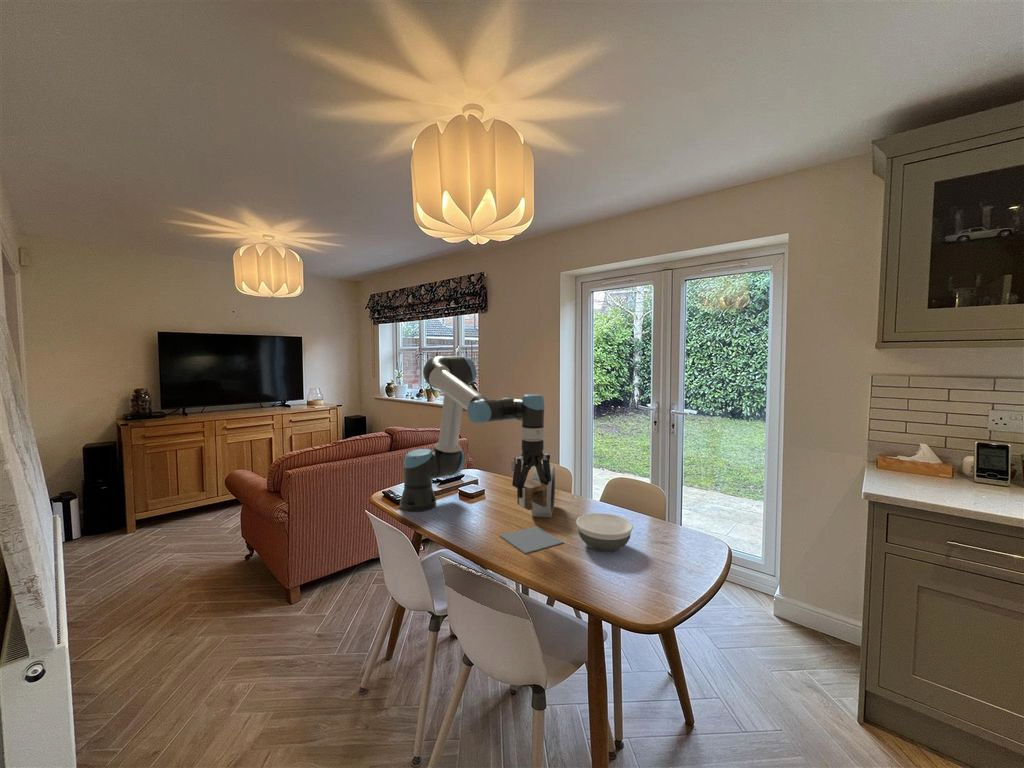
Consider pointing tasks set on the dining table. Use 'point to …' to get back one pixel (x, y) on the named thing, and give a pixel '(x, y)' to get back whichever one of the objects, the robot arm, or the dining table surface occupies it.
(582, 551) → the dining table surface
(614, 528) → the bowl
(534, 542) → the mat
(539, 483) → the notched open box
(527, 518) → the dining table surface
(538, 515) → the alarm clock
